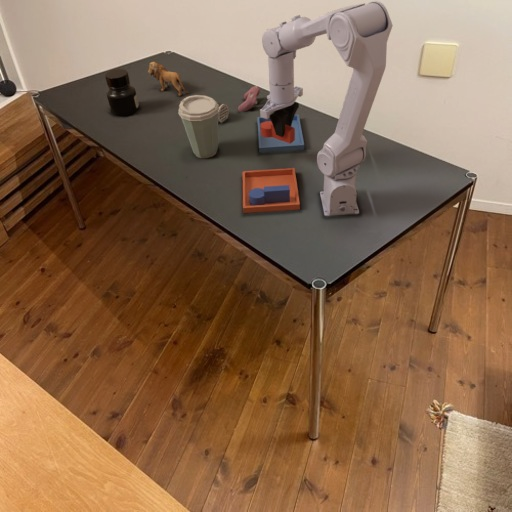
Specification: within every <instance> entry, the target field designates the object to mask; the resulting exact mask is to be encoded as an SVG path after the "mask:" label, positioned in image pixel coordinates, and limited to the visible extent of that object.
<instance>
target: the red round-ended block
mask: <svg viewBox="0 0 512 512" xmlns="http://www.w3.org/2000/svg"><path fill="white" fill-rule="evenodd" d="M260 127H261V135H262V136H263V137H266V138H270V137H273V138H276V139H278V140H281V141H284V142H287V143H290V144H291V143H292V142H293V141H295V128H294V127H291V126H288V125H285V133H284V136H283V137H281V136H278V135H276V133H275V130H274V127H273V124H272V122H271V121H266V122H263V123H261V125H260Z"/></svg>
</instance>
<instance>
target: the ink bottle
mask: <svg viewBox="0 0 512 512" xmlns="http://www.w3.org/2000/svg"><path fill="white" fill-rule="evenodd" d="M104 78H105V82H106V85H107V87H108V89H107V90H106V97H107V102H108V105H109V108H110V112H111V114H112V115H115V116H118V117H126V116H130V115H133V114H134V113H136V112H138V110H139V109H140V103H139V99H138V95H137V92H136V91H137V90H136V88H135V87H134V86H133V85H132V84H131V80H130V77H129V71H128V70H126V69H124V68H117V69H116V68H115V69H111V70H109V71H107V72H106V73H105V74H104Z"/></svg>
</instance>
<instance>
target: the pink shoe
mask: <svg viewBox="0 0 512 512" xmlns="http://www.w3.org/2000/svg"><path fill="white" fill-rule="evenodd" d="M261 90H262V88H261V87H260V86H257V85H253V86H252V87H251V88H250V89H249V90H248V91H246V92H245V93H244V95H243V99H244V102H242V103H241V104H239V105H238V108H237V110H238V112H247V111H249V110H252V108H253V107H254V105H257V104H258V101H257V98H258V96H259V95H260V93H261Z"/></svg>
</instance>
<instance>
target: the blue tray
mask: <svg viewBox="0 0 512 512" xmlns="http://www.w3.org/2000/svg"><path fill="white" fill-rule="evenodd" d="M256 119H257V121H256V122H257V135H258V138H257V139H258V153H260V154H262V153H276V152H277V153H278V152H291V151H304V150H305V142H304V141H305V140H304V135H303V131H302V130H303V129H302V125H301V119H300V115H299V113H298V114H295V115H294V118H293V121H292V125H291V127H294V128H295V141H293V142H292V143H291V144H290V143H287V142H284V141H281V140H278V139H276V138H273V137H270V138H266V137H263V136H262V135H261V127H260V125H261V123H263V122H266V121H271V120H270V118H268V119H265V118H262V117H261V116H258V117H256Z"/></svg>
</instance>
